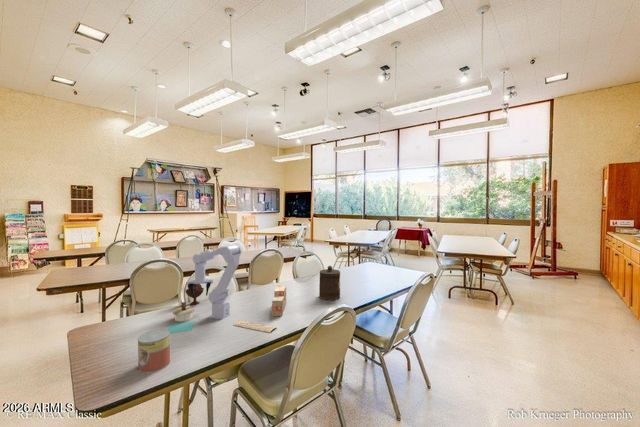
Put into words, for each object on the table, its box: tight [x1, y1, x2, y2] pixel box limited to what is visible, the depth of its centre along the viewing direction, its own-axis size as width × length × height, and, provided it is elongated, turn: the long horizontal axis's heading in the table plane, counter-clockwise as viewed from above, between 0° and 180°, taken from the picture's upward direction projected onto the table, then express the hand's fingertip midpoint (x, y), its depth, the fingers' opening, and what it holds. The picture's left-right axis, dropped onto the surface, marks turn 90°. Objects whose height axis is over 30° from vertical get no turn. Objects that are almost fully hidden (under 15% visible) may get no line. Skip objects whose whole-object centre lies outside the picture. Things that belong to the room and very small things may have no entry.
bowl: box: [174, 311, 194, 323], centre depth 162 cm, size 9×9×4 cm
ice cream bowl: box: [185, 284, 205, 306], centre depth 188 cm, size 11×11×15 cm
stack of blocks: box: [271, 285, 287, 317], centre depth 177 cm, size 21×6×12 cm, turn 0°
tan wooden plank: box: [233, 320, 277, 334], centre depth 152 cm, size 24×7×2 cm, turn 67°
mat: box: [166, 321, 195, 334], centre depth 150 cm, size 12×12×1 cm
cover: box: [172, 301, 195, 316], centre depth 162 cm, size 11×11×5 cm
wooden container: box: [318, 265, 341, 301], centre depth 203 cm, size 15×15×22 cm
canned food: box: [137, 329, 171, 374], centre depth 116 cm, size 11×11×12 cm
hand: (200, 295), depth 172 cm, fingers open, 7 cm apart
